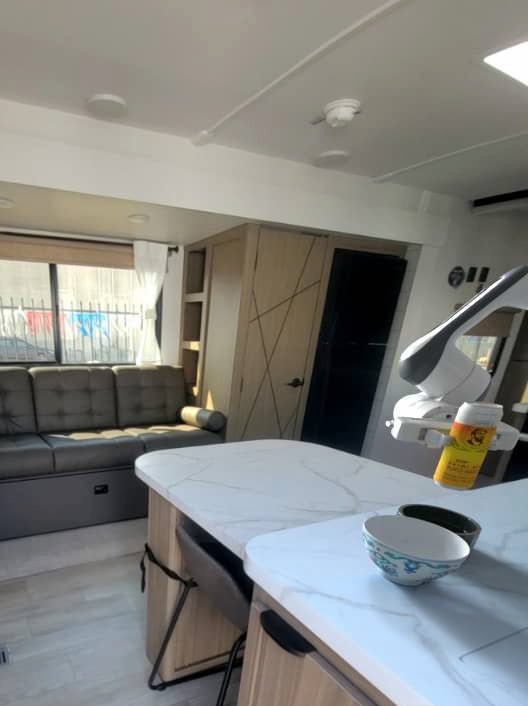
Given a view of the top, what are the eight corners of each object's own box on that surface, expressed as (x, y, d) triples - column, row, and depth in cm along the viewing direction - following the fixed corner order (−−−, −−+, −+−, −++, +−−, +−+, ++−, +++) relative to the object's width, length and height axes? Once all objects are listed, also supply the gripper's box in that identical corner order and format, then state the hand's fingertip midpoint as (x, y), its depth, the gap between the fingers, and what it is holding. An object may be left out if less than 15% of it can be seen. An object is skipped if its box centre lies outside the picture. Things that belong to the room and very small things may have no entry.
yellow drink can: (439, 489, 74) (471, 405, 67) (426, 477, 79) (455, 399, 72) (477, 493, 72) (514, 409, 66) (461, 481, 78) (494, 402, 71)
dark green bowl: (445, 530, 85) (455, 506, 83) (486, 564, 73) (499, 538, 71) (379, 524, 87) (387, 501, 84) (408, 557, 75) (418, 531, 72)
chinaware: (378, 600, 63) (393, 557, 59) (337, 550, 76) (348, 513, 73) (474, 603, 63) (495, 561, 59) (416, 553, 76) (431, 516, 73)
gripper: (387, 406, 84) (412, 420, 72) (498, 414, 80) (545, 431, 68) (378, 435, 87) (401, 455, 74) (485, 445, 83) (528, 466, 71)
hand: (471, 443), depth 71 cm, fingers closed on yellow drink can, 6 cm apart
